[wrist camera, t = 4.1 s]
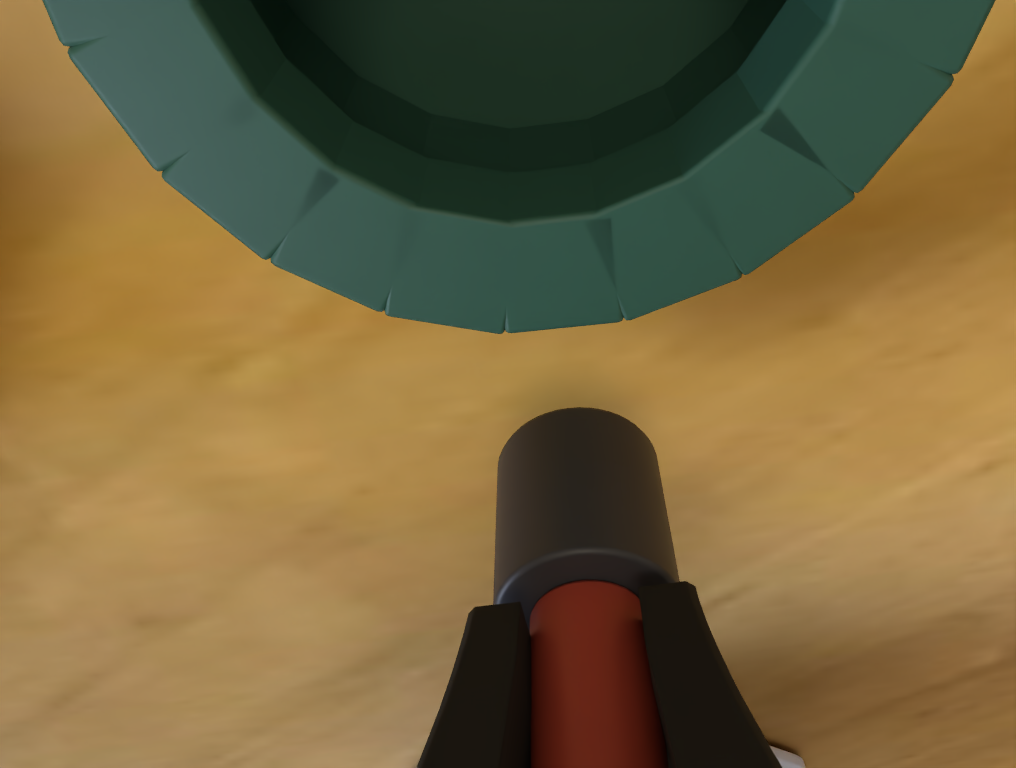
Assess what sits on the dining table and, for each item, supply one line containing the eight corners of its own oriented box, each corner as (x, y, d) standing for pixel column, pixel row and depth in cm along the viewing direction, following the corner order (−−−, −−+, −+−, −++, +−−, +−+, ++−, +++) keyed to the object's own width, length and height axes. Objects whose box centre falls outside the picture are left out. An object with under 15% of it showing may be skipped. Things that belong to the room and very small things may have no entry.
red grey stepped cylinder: (689, 443, 14) (827, 1043, 8) (601, 542, 16) (657, 1117, 9) (548, 380, 13) (573, 983, 7) (469, 489, 15) (431, 1076, 8)
